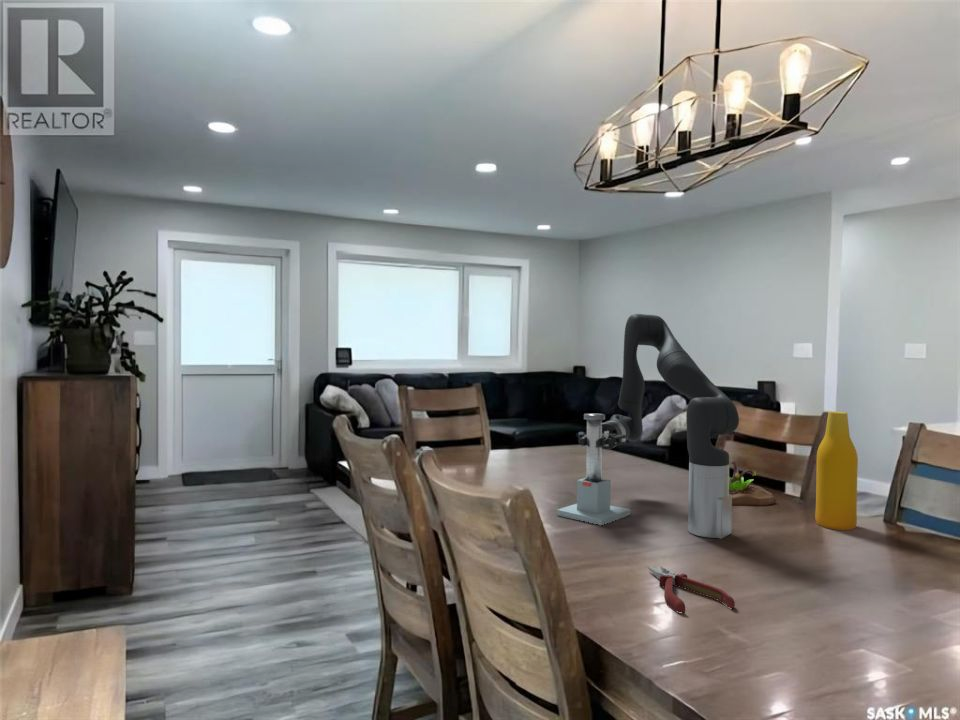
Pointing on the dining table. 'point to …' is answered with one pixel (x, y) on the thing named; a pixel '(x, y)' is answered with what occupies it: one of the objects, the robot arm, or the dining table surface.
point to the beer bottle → (836, 476)
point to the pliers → (670, 579)
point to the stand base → (593, 504)
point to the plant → (747, 490)
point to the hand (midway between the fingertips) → (591, 442)
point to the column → (594, 447)
